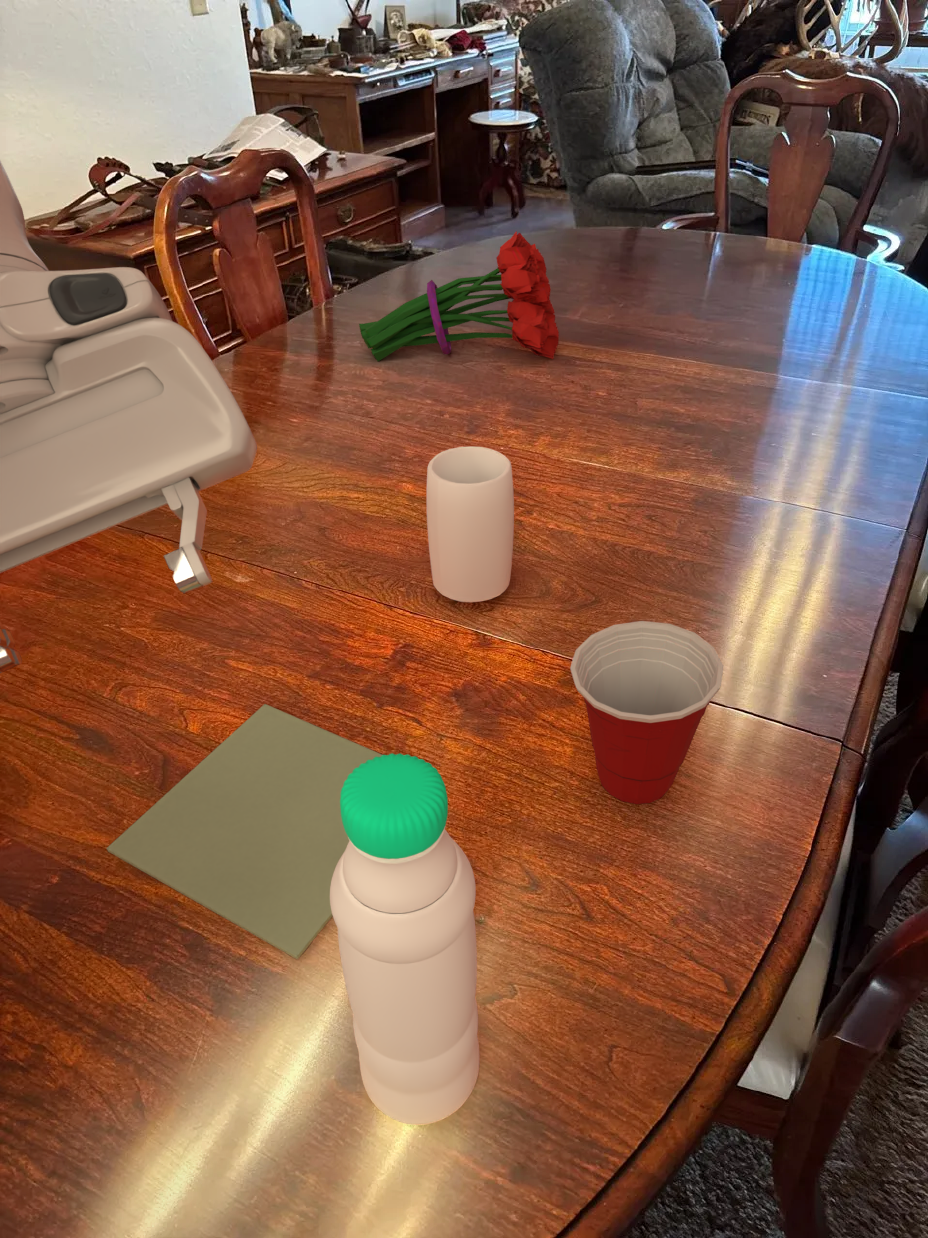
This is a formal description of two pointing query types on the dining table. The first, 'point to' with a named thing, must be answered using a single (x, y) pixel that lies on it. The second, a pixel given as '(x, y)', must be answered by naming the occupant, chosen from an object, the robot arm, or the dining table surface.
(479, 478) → the cup
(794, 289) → the dining table surface
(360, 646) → the dining table surface
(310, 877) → the mat
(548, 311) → the bouquet
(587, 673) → the plastic cup
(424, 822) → the water bottle
